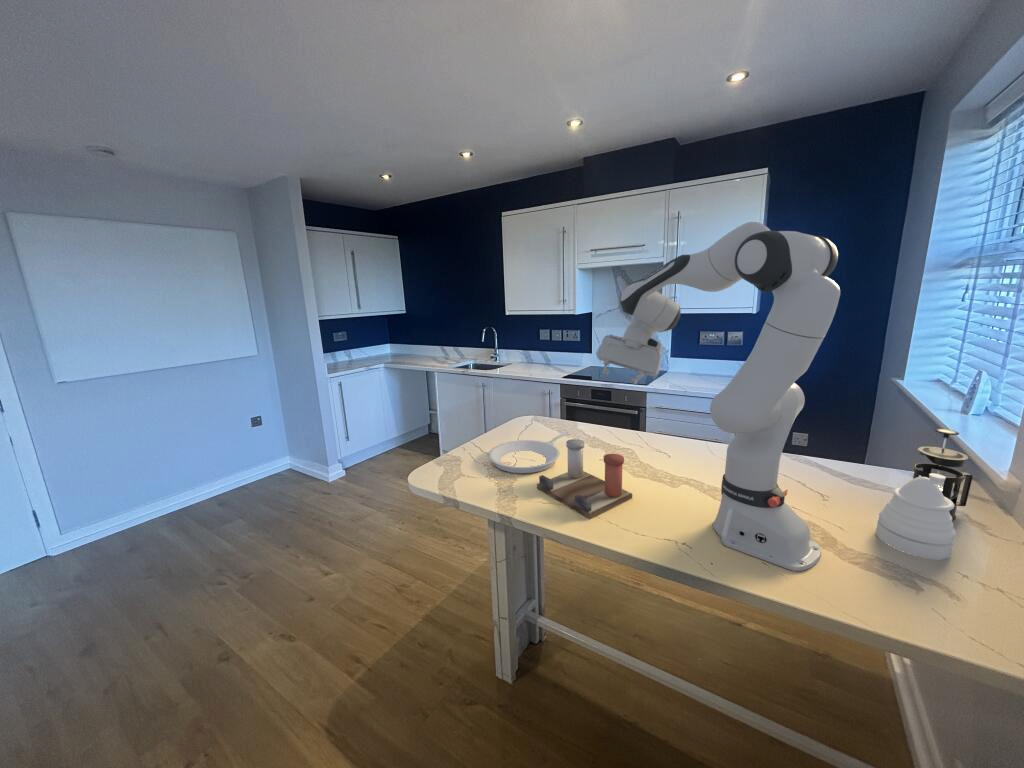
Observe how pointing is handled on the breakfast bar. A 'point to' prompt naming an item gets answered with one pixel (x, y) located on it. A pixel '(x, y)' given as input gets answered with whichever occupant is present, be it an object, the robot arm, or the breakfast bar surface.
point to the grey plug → (575, 457)
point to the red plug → (613, 474)
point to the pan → (526, 445)
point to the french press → (942, 460)
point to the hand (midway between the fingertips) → (618, 378)
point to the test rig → (582, 493)
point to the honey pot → (919, 519)
